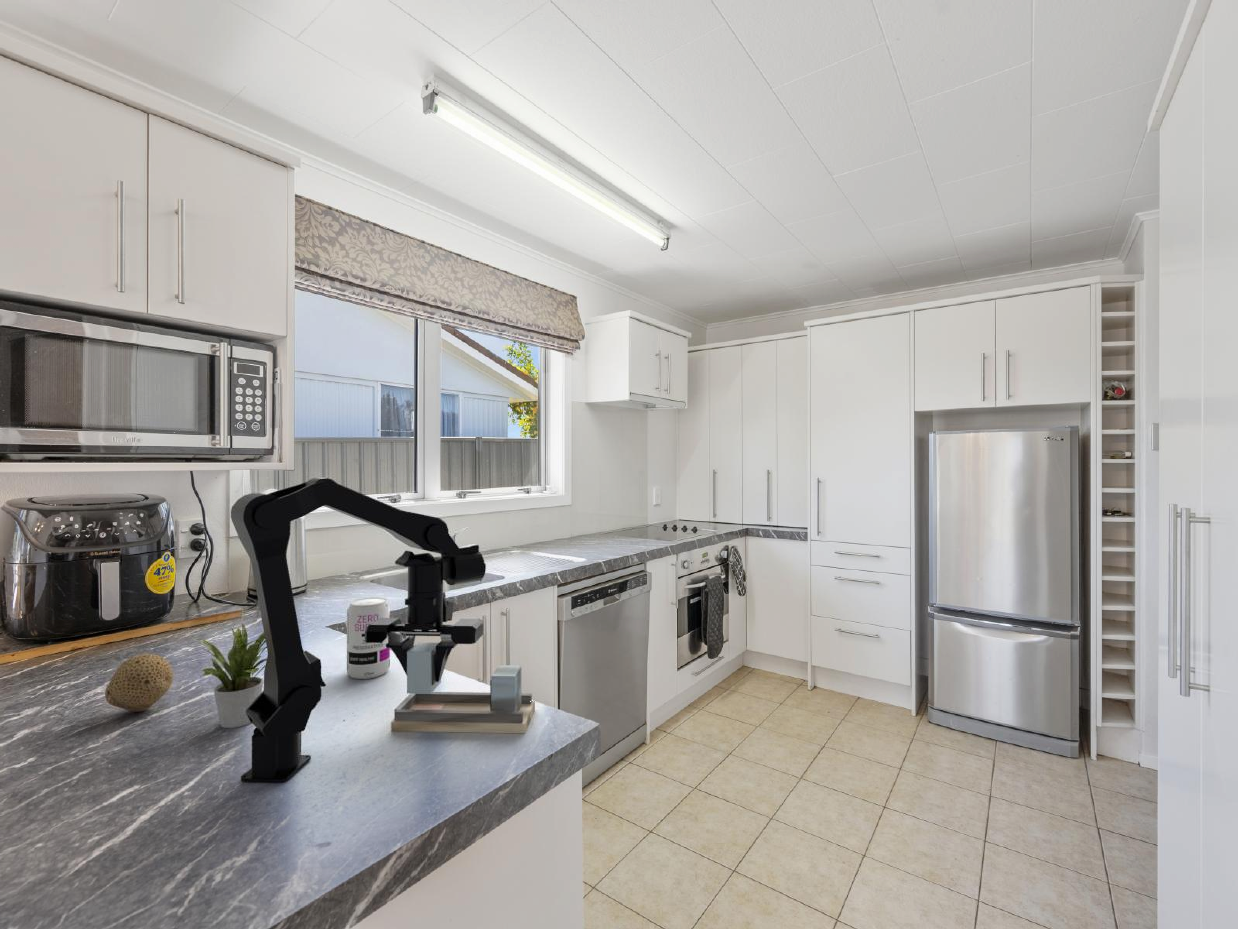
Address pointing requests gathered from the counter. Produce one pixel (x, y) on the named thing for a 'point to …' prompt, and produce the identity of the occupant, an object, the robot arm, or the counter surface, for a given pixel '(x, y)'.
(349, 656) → the supplement can
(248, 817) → the counter surface
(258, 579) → the robot arm
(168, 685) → the natural sponge
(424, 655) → the block
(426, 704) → the rail plate
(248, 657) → the house plant
